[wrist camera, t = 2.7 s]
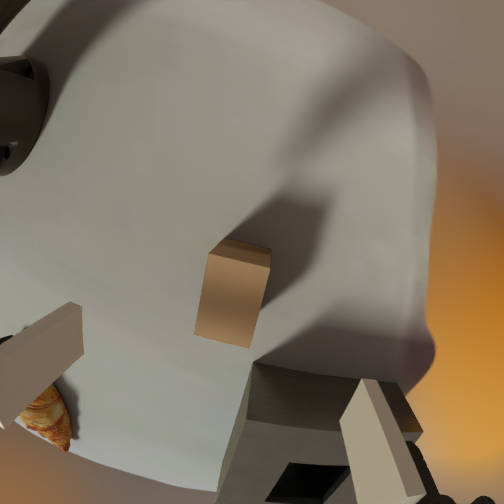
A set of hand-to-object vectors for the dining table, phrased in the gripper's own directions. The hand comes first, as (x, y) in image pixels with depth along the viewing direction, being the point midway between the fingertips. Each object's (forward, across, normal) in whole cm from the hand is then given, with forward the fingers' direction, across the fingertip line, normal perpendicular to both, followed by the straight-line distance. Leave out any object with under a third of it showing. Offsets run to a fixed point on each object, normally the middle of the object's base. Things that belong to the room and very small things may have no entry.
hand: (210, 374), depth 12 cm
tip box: (+14, +11, -17) cm, 24 cm away
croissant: (+14, -25, -26) cm, 38 cm away
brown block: (+14, 0, 0) cm, 14 cm away
